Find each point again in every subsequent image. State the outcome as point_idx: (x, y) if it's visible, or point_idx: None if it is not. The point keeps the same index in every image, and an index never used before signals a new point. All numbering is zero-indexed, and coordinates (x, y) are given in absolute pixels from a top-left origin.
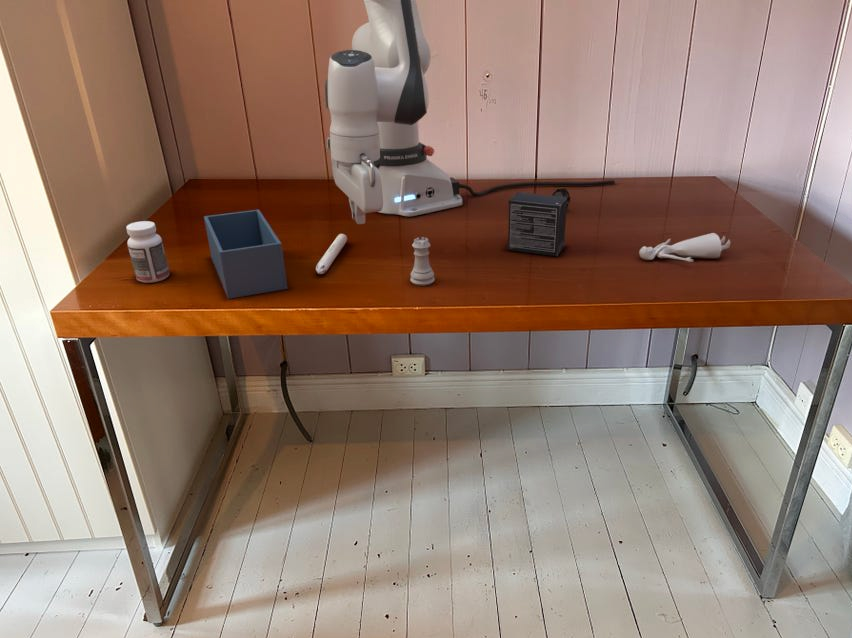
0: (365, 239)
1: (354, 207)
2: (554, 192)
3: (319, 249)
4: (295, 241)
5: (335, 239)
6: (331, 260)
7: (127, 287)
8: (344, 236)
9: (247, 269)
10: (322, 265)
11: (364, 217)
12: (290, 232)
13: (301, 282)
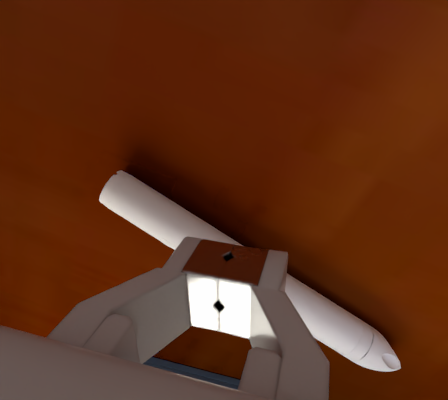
0: (98, 83)
1: (163, 329)
2: None
3: (157, 256)
4: (80, 279)
5: (150, 233)
6: (324, 305)
7: None
8: (121, 191)
9: None
10: (383, 362)
11: (281, 278)
12: (14, 263)
13: (395, 389)
